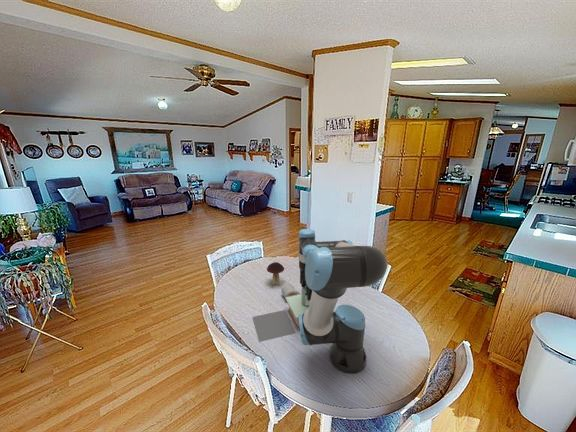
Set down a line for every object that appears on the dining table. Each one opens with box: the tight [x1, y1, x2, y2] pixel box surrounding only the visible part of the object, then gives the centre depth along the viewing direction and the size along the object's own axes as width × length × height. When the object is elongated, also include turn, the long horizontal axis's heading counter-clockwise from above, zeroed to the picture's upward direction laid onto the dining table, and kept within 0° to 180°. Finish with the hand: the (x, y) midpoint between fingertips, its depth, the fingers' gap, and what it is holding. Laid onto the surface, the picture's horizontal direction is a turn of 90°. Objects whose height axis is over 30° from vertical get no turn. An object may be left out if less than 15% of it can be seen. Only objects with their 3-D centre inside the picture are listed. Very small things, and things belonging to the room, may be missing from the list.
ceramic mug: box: [281, 283, 301, 300], centre depth 149 cm, size 11×8×8 cm
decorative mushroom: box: [266, 261, 285, 286], centre depth 163 cm, size 11×11×15 cm
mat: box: [251, 309, 297, 343], centre depth 129 cm, size 18×18×1 cm
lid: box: [285, 286, 310, 320], centre depth 131 cm, size 17×17×9 cm
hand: (306, 301), depth 132 cm, fingers closed on lid, 5 cm apart
